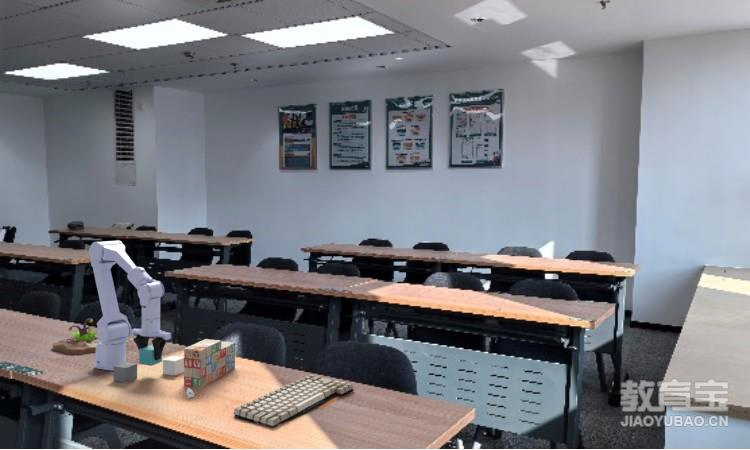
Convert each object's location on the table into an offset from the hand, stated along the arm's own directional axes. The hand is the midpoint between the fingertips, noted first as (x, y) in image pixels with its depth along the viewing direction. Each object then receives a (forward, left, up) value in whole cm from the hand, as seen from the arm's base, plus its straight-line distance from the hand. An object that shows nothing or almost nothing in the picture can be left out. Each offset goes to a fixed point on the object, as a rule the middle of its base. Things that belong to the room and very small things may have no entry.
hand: (150, 358), depth 189 cm
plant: (-47, +19, -7) cm, 51 cm away
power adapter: (+25, -10, -7) cm, 28 cm away
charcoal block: (-5, -6, -6) cm, 10 cm away
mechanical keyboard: (+55, -3, -7) cm, 56 cm away
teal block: (0, 0, -1) cm, 1 cm away
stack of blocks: (+18, +7, -6) cm, 21 cm away
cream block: (+5, +6, -6) cm, 10 cm away
